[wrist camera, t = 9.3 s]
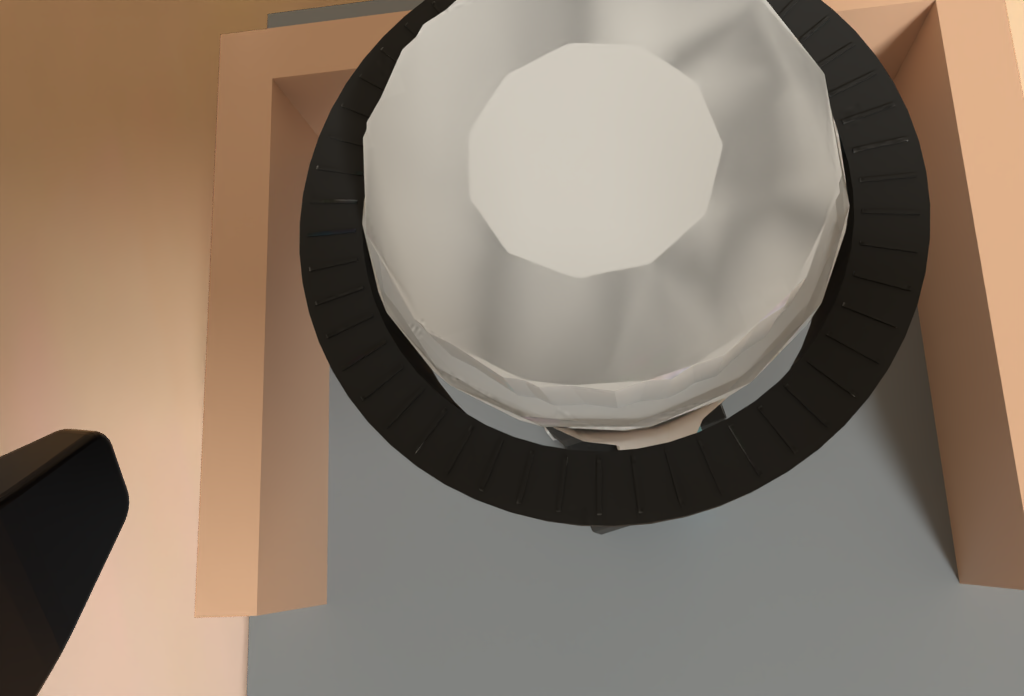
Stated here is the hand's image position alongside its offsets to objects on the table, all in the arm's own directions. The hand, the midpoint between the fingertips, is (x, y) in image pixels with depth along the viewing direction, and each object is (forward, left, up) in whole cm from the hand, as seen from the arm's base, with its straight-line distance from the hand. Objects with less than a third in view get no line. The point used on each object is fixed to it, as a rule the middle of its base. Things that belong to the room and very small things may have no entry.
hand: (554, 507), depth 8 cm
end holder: (+3, 0, -9) cm, 9 cm away
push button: (+3, 0, -8) cm, 9 cm away
